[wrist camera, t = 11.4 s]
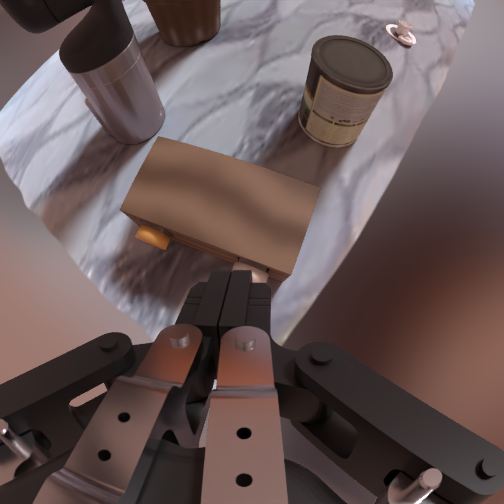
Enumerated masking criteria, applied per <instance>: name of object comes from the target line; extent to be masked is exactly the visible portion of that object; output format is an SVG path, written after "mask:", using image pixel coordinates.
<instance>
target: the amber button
mask: <svg viewBox="0 0 504 504" xmlns="http://www.w3.org/2000/svg"><path fill="white" fill-rule="evenodd" d="M135 237H136V238H137V239H139V240H141V241H143V242H145V243H147V244H149V245H152V246H154V247H157V248H159V249H162V250H166V248H167V246H168V244H169V241H170V239H171V238H170V237H171V234H170V233H169V232H168V231H167V230H166V229H164V228H161V227H158V226H156V225H153V224H151V223H148V222H146V221H143V220H142V222H141V225H140V226H139V229H138V231H137V233H136V235H135Z"/></svg>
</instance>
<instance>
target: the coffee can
mask: <svg viewBox="0 0 504 504" xmlns="http://www.w3.org/2000/svg"><path fill="white" fill-rule="evenodd" d="M311 56H312V57H311V62H310V66H309V71H308V75H307V80H306V85H305V89H304V93H303V98H302V102H301V107H300V109H299V113H298V120H299V124H300V126H301V128H302V130H303V131H304V132H305V134H306V135H307V136H308V137H310V138H311V139H312V140H314V141H315V142H317V143H319V144H321V145H324V146H327V147H333V148H340V147H345V146H348V145H351V144H352V143H354V142H355V141H356V140H357V139H358V137H359V135H360V133H361V131H362V129H363V127H364V126H365V124H366V122H367V121H368V119H369V117H370V115H371V114H372V112H373V110H374V108H375V107H376V105H377V103H378V101H379V100H380V98H381V96H382V94H383V93H384V91H385V89H386V88H387V87H388V86H389V84H390V83H391V81H392V78H393V72H392V68H391V65H390V63H389V62H388V60H387V59H386V58H385V56H384V55H383V54H382V53H380V52H379V51H378V50H377V49H375V48H374V47H373V46H371V45H369V44H367V43H366V42H363V41H361V40H358V39H356V38H352V37H347V36H341V35H333V36H327V37H324V38H321V39H319V40H318V41H317V42H316V43H315V44H314V45H313V48H312V54H311Z"/></svg>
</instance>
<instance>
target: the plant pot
mask: <svg viewBox="0 0 504 504" xmlns="http://www.w3.org/2000/svg"><path fill="white" fill-rule="evenodd" d="M143 1H144V2H146V4H147V6H148V8H149V11H150V13H151V15H152V17H153V19H154V21H155V23H156V26H157V28H158V30H159V32H160V34H161V37H162V39H163V40H164V41H165V42H166V43H167V44H169V45H172V46H192V45H196V44H198V43H200V42H201V41H203V40H209V39H211V38H212V37H213V36H215V35H216V34H217V33H218V31H219V29H220V0H143Z"/></svg>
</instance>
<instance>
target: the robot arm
mask: <svg viewBox="0 0 504 504" xmlns="http://www.w3.org/2000/svg"><path fill="white" fill-rule="evenodd" d="M0 4H1V5H2V7H3V8H4V9H5V10H6V11H7V12H8V14H9V15H10V16H11V17H12V18H13V19H14V20H15V21H16V22H17V23H18V24H19V25H20V26H21V27H22V28H24V29H25V30H27V31H28V32H31V33H35V34H37V33H42V32H45V31H47V30H49V29H50V28H52V27H54V26H56V25H58V24H59V23H61V22H62V21H64V20H66V19H68V18H69V17H71V16H73V15H74V14H76V13H78V12H80V11H82V10H83V9H85V8H87V7H89V6H91V5H92V7H91V9H90V10H89V12H88V13H87V15H86V16H85V17H84V18H83V20H82V21H81V22H80V23H79V24H78V25H77V26H76V27H75V28H74V29H73V30H72V31H71V32H70V33H69V34H68V35H67V37H66V38H65V39H64V41H63V43H62V45H61V47H60V50H59V56H60V60H61V62H62V63H63V65H64V66H65V68H66V69H67V70H68V72H69V73H70V75H71V76H72V78H73V79H74V81H75V82H76V84H77V85H78V86H79V88H80V89H81V91H82V92H83V93H84V95H85V96H86V100H85V103H86V105H87V106H88V108H89V109H90V111H91V112H92V113H93V115H94V116H95V117H96V119H97V120H98V121H99V123H100V124H101V125H102V127H103V128H104V129H105V131H106V132H107V133H108V135H110V136H114V137H115V138H116V139H117V140H118V141H119V142H121V143H124V144H137V143H141V142H143V141H145V140H147V139H149V138H150V137H152V136H153V135H154V134H155V133H156V132H157V131H158V130H159V129H160V128H161V126H162V124H163V122H164V119H165V110H164V107H163V105H162V102H161V100H160V97H159V95H158V92H157V90H156V87H155V85H154V82H153V80H152V77H151V75H150V72H149V70H148V67H147V65H146V62H145V60H144V57H143V55H142V52H141V50H140V47H139V45H138V42H137V39H136V37H135V34H134V32H133V29H132V26H131V24H130V21H129V19H128V17H127V14H126V12H125V9H124V6H123V3H122V1H121V0H0ZM270 318H271V290H270V288H269V287H268V286H267V284H266V283H253V282H252V270H233V271H232V270H212V273H211V275H210V278H209V280H208V282H199V283H197V284H196V285H195V286H194V287H192V288H191V290H190V292H189V294H188V296H187V298H186V300H185V303H184V305H183V307H182V309H181V312H180V314H179V316H178V318H177V320H176V323H175V325H171V326H169V327H167V328H165V329H163V330H162V331H161V332H160V333H159V334H158V336H157V338H156V339H155V341H154V342H152V343H146V344H139V345H132V342H131V339H130V338H129V337H128V336H127V335H125V334H123V333H119V332H112V333H107V334H104V335H102V336H100V337H98V338H96V339H93V340H91V341H89V342H87V343H85V344H83V345H81V346H79V347H77V348H75V349H73V350H71V351H69V352H67V353H65V354H63V355H61V356H59V357H57V358H55V359H52V360H50V361H48V362H46V363H44V364H42V365H40V366H38V367H36V368H34V369H32V370H30V371H28V372H26V373H24V374H22V375H19V376H17V377H15V378H14V379H11V380H9V381H7V382H5V383H3V384H1V385H0V504H347V503H346V502H345V501H344V500H342V499H341V498H340V497H339V496H338V495H337V494H336V493H335V492H334V491H333V490H331V489H330V488H329V487H328V486H327V485H326V484H325V483H324V482H323V481H322V480H321V479H320V478H319V477H318V476H316V475H315V474H314V473H312V472H311V471H309V470H308V469H307V468H305V467H303V466H301V465H300V464H297V463H295V462H293V461H290V460H287V459H284V454H283V445H282V434H281V424H280V416H281V417H284V418H288V419H290V422H291V424H292V425H293V426H294V427H295V428H296V429H297V430H298V431H299V432H300V433H301V434H302V435H303V436H304V437H305V438H307V439H308V440H309V441H310V442H311V443H312V444H313V445H314V446H315V447H317V448H318V449H319V450H320V451H321V452H322V453H324V454H325V455H326V456H327V457H328V458H329V459H331V460H332V461H333V462H334V463H335V464H336V465H338V466H339V467H340V468H341V469H342V470H344V471H345V472H346V473H347V474H348V475H350V476H351V477H352V478H353V479H355V480H356V481H357V482H358V483H360V484H361V485H362V486H364V487H365V488H366V489H367V490H369V491H370V492H371V493H373V494H374V495H375V496H377V498H376V501H375V504H481V503H482V502H483V501H485V500H486V499H488V498H489V497H491V496H492V495H493V494H495V493H496V492H497V491H498V490H500V489H501V488H502V487H503V486H504V451H503V450H502V449H500V448H499V447H497V446H495V445H494V444H492V443H490V442H488V441H486V440H485V439H483V438H482V437H480V436H478V435H476V434H475V433H473V432H471V431H470V430H468V429H466V428H465V427H463V426H461V425H460V424H458V423H456V422H455V421H453V420H452V419H450V418H448V417H447V416H445V415H443V414H442V413H440V412H438V411H437V410H435V409H434V408H432V407H430V406H429V405H427V404H425V403H424V402H422V401H421V400H419V399H418V398H416V397H414V396H413V395H411V394H410V393H408V392H407V391H405V390H403V389H402V388H400V387H399V386H397V385H396V384H394V383H392V382H391V381H389V380H387V379H386V378H385V377H383V376H381V375H380V374H378V373H377V372H375V371H374V370H372V369H371V368H369V367H368V366H366V365H365V364H363V363H362V362H360V361H359V360H357V359H356V358H354V357H353V356H351V355H350V354H348V353H347V352H345V351H344V350H342V349H341V348H339V347H337V346H336V345H333V344H330V343H326V342H314V343H309V344H307V345H305V346H303V347H301V348H300V349H299V350H298V351H293V350H289V349H285V348H283V347H281V346H279V345H278V344H277V343H275V342H274V341H273V339H272V338H271V335H270ZM214 379H217V385H216V389H213V390H212V388H213V384H214ZM102 383H104V384H105V386H106V388H107V390H108V391H106V392H105V393H103V394H101V395H99V396H97V397H95V398H94V399H92V400H90V401H88V402H86V403H84V404H82V405H81V406H78V407H73V406H70V405H69V403H70V401H71V400H72V399H74V398H76V397H77V396H79V395H81V394H83V393H85V392H87V391H89V390H91V389H92V388H94V387H96V386H98V385H100V384H102ZM209 408H210V410H209ZM208 411H209V419H208V429H207V439H206V447H203V448H199V441H200V437H201V434H202V431H203V427H204V424H205V421H206V418H207V414H208Z"/></svg>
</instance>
